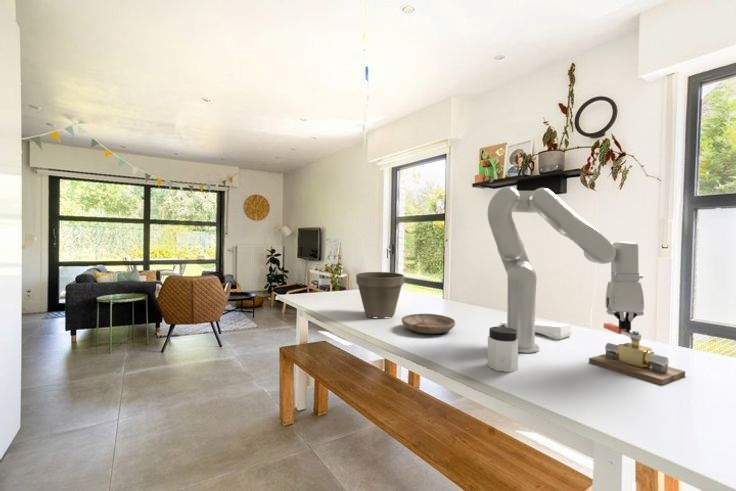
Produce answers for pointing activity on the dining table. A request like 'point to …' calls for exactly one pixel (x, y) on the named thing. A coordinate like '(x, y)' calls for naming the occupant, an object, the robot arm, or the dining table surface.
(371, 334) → the dining table surface
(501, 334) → the jar
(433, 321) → the ceramic bowl
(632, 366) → the base board
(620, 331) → the lever
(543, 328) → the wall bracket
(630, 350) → the ball valve
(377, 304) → the plant pot
